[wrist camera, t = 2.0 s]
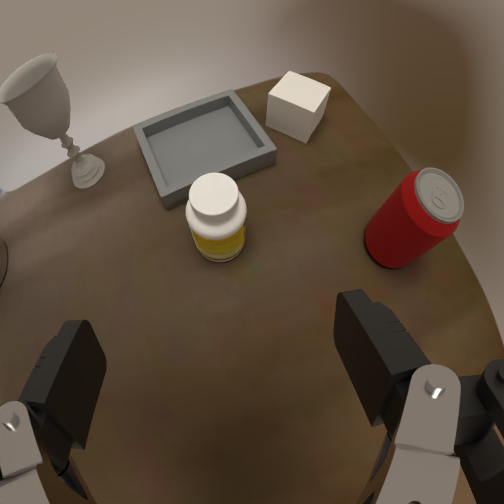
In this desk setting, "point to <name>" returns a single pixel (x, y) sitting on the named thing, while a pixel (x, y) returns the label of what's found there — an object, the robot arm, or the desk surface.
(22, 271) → the desk surface
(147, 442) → the desk surface
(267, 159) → the tray
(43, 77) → the chalice
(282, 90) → the white cube
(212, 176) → the supplement bottle
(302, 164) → the desk surface
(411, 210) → the beverage can
